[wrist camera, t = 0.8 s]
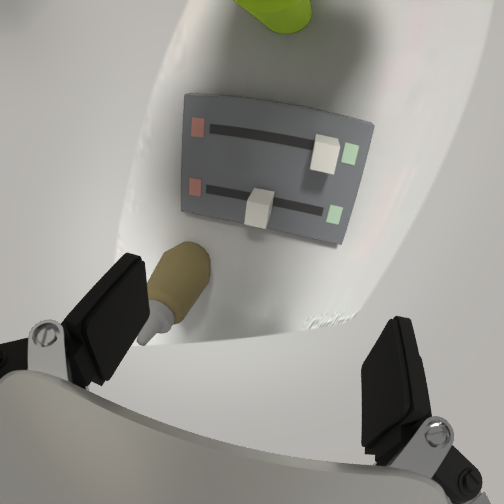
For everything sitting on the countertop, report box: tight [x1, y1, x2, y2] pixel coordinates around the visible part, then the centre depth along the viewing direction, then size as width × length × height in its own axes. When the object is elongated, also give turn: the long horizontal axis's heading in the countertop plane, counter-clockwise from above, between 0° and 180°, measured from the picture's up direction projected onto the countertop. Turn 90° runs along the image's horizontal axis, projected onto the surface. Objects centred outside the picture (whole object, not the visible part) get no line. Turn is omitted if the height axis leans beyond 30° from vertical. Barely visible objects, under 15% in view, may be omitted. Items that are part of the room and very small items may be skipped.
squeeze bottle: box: [137, 242, 210, 346], centre depth 40 cm, size 8×8×18 cm
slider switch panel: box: [181, 93, 374, 245], centre depth 36 cm, size 16×22×2 cm
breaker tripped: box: [244, 188, 274, 229], centre depth 35 cm, size 3×2×4 cm
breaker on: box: [310, 134, 340, 175], centre depth 30 cm, size 3×2×4 cm
